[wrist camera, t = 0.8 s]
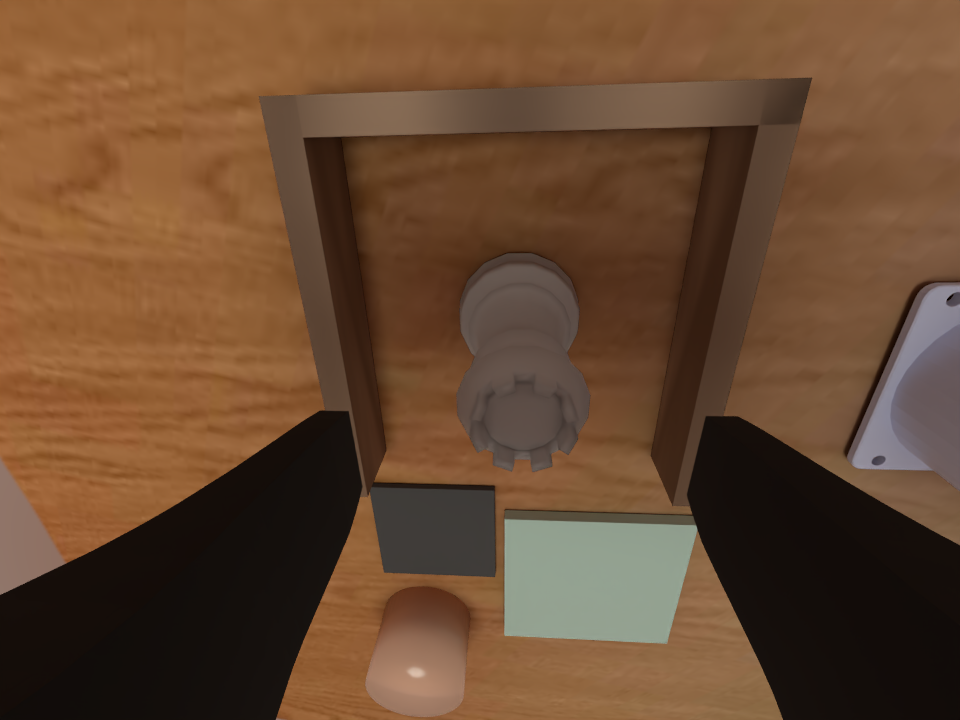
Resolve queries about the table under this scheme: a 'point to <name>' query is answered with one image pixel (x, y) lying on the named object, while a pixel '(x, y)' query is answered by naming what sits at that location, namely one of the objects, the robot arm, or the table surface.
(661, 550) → the coaster
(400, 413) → the table surface
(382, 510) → the dark gray tile
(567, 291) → the rook chess piece
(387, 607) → the peach short cylinder
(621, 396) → the table surface
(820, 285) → the table surface
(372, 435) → the cubby
